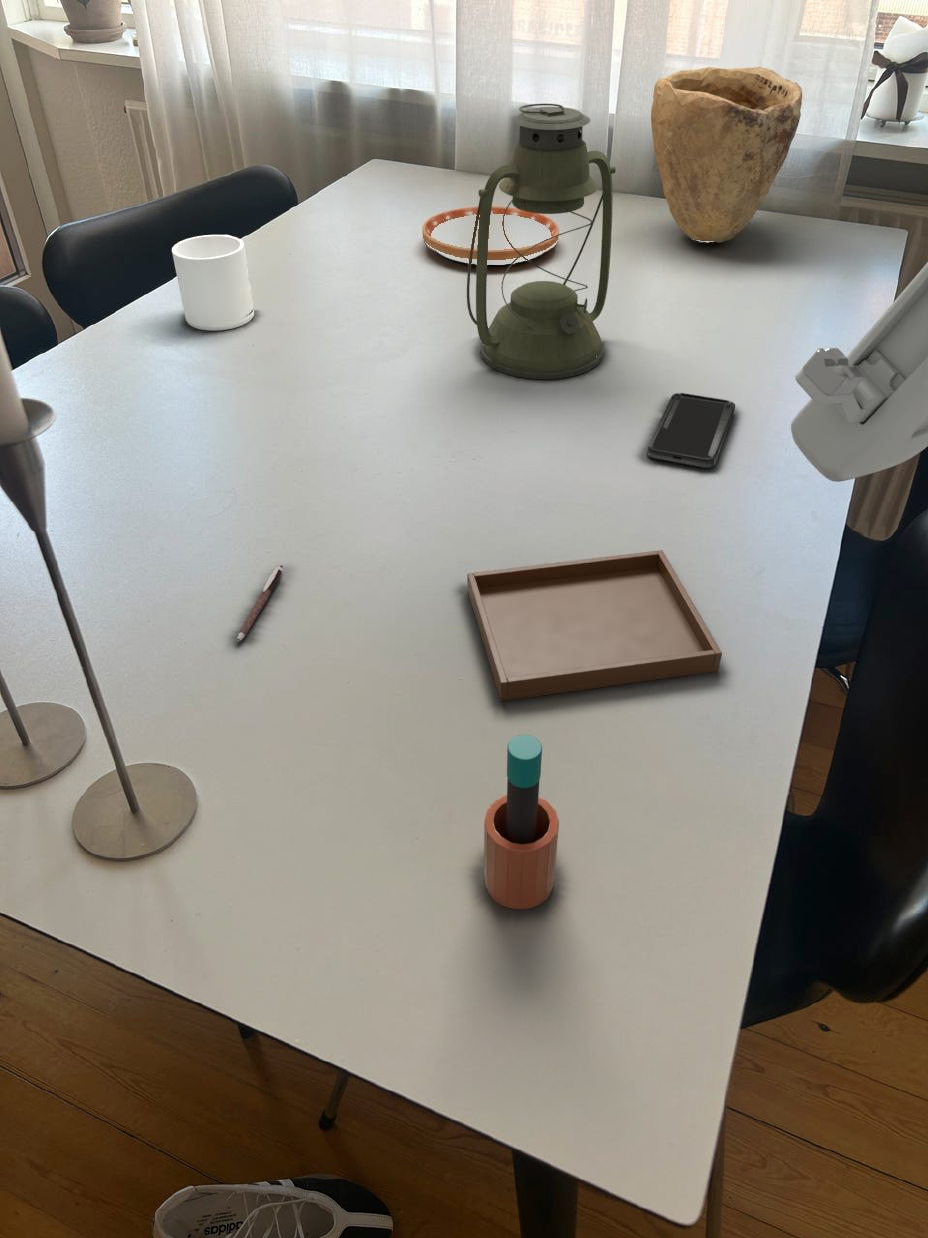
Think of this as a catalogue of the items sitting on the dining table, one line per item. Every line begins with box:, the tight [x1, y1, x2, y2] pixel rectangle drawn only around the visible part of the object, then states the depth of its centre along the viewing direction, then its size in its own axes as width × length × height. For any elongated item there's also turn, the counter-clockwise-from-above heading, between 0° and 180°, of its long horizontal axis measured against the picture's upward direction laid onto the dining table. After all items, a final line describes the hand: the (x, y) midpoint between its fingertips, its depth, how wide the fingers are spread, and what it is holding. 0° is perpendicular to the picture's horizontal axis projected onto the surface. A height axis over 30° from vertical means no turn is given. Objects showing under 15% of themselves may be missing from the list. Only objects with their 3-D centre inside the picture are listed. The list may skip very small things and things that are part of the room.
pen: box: [236, 564, 284, 642], centre depth 90 cm, size 11×1×1 cm, turn 168°
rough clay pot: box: [650, 66, 803, 244], centre depth 157 cm, size 22×22×25 cm
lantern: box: [466, 103, 616, 380], centre depth 123 cm, size 21×18×30 cm
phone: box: [646, 392, 736, 469], centre depth 114 cm, size 8×1×15 cm
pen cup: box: [483, 794, 560, 910], centre depth 65 cm, size 5×5×6 cm
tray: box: [466, 549, 723, 702], centre depth 87 cm, size 19×15×2 cm
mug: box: [171, 234, 255, 332], centre depth 140 cm, size 13×10×10 cm
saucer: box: [421, 205, 560, 260], centre depth 163 cm, size 23×23×4 cm
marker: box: [506, 734, 543, 844], centre depth 63 cm, size 2×2×13 cm
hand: (897, 279), depth 36 cm, fingers open, 8 cm apart
